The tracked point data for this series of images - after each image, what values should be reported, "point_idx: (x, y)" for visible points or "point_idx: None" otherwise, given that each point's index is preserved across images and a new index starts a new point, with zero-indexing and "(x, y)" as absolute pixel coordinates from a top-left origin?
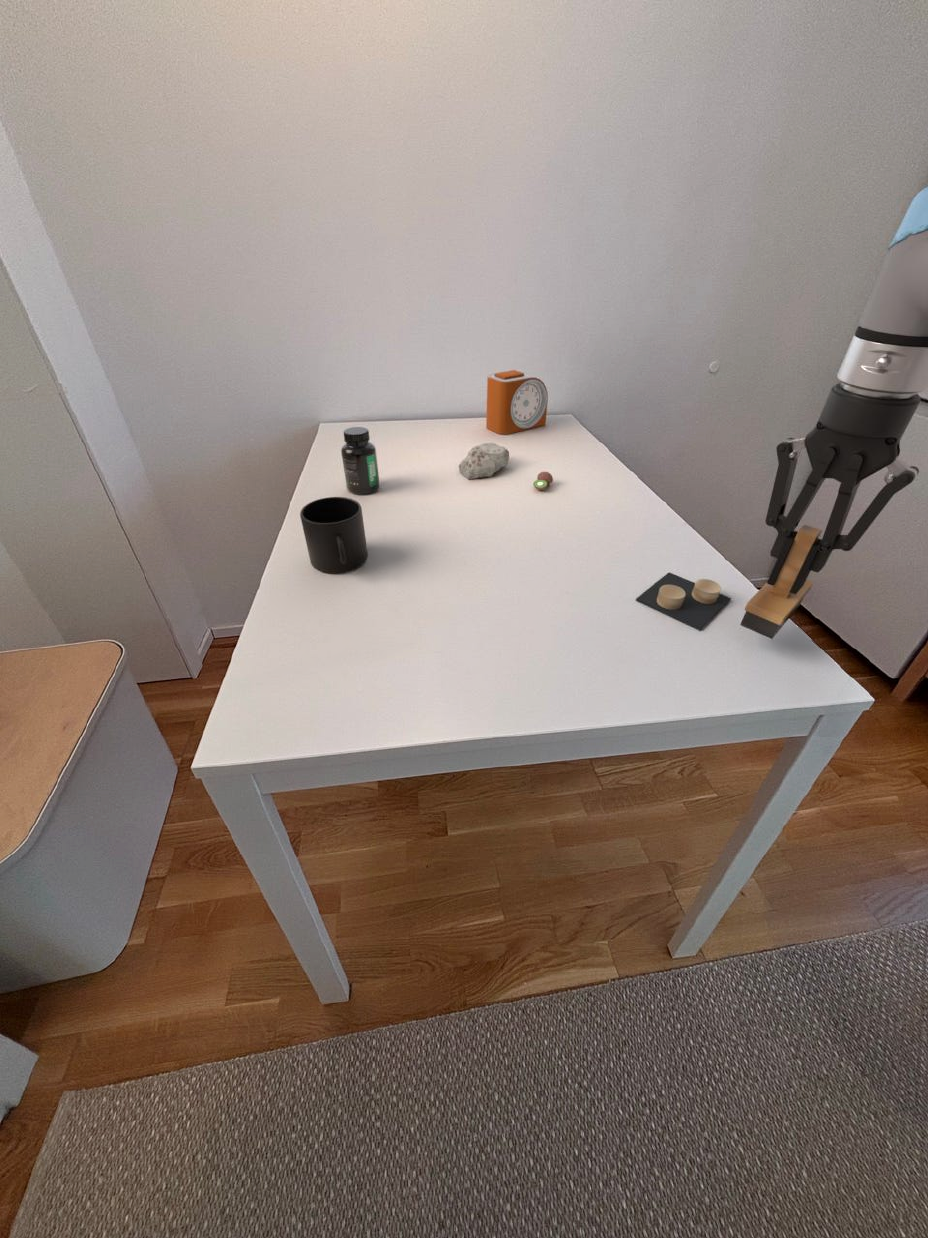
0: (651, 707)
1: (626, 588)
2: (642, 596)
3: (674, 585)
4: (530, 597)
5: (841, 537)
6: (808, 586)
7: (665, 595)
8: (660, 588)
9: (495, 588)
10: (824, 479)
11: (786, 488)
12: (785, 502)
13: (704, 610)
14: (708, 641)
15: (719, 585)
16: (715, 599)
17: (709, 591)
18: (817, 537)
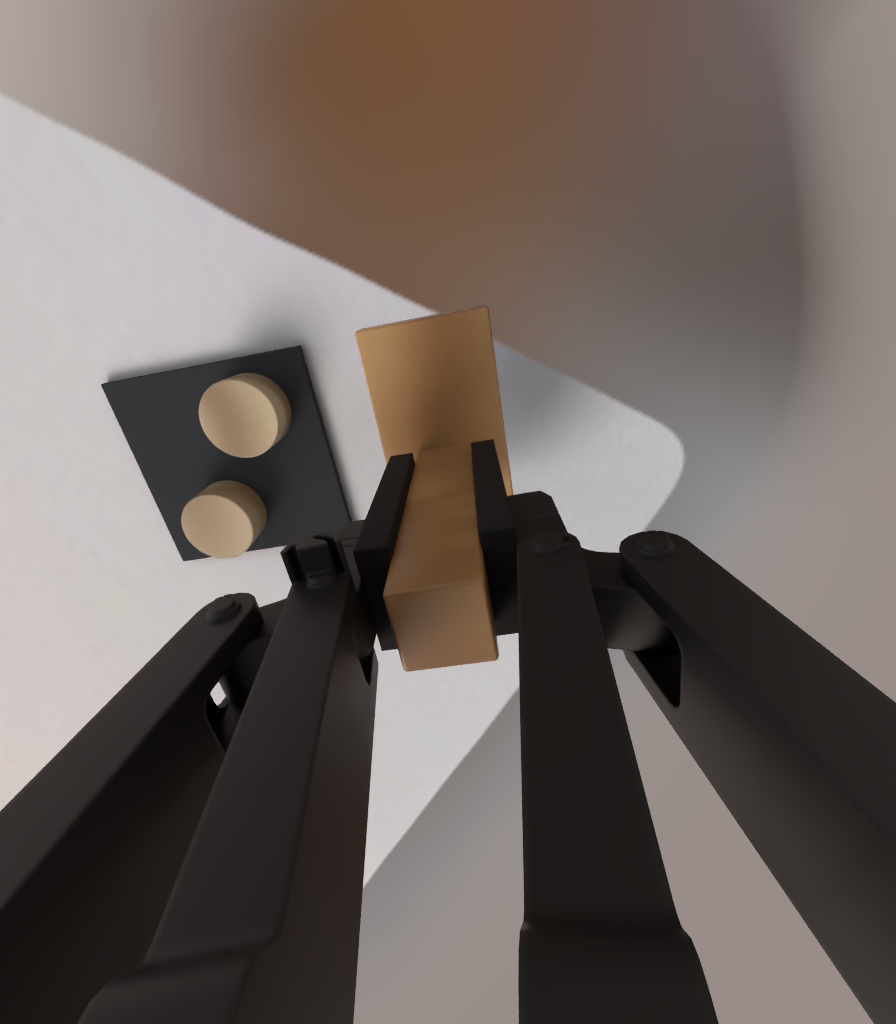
0: (451, 746)
1: (130, 536)
2: (182, 544)
3: (194, 499)
4: (88, 712)
5: (610, 624)
6: (488, 352)
7: (224, 556)
8: (190, 541)
9: (32, 741)
10: (282, 980)
11: (141, 899)
12: (204, 716)
13: (304, 466)
14: None
15: (252, 388)
16: (287, 416)
17: (264, 444)
18: (492, 614)
